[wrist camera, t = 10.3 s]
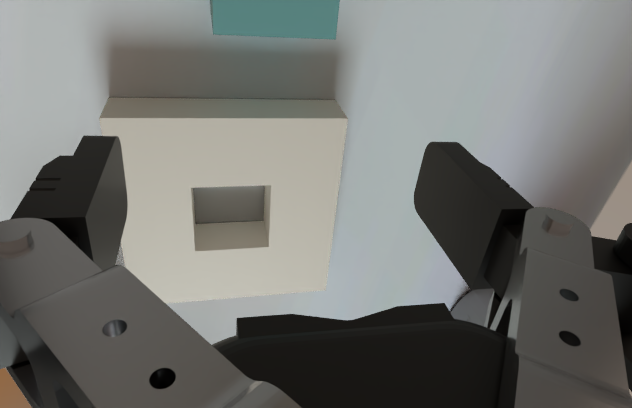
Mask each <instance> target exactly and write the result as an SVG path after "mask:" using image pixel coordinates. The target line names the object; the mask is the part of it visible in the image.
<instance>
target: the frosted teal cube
mask: <svg viewBox="0 0 632 408" xmlns="http://www.w3.org/2000/svg"><path fill="white" fill-rule="evenodd" d="M339 2H340V0H210V4H211V19H212V27H213V34H217V35H241V36H265V37H290V38H314V39H336V30H337V21H338V11H339Z"/></svg>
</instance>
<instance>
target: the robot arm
mask: <svg viewBox="0 0 632 408" xmlns="http://www.w3.org/2000/svg"><path fill="white" fill-rule="evenodd" d="M29 189H30V191H28V192H27V193H26V195H25V196H24V198H23V200H22V201H21V203H20V204H19V206H18V208H17V209H16V211H15V212H14V214H13V216H12V217H11V219H10V220H5V221H1V222H0V369H1V368H5V367H6V369H7V371H8V372H9V374H10V375H11V377H12V378H13V380H14V381H15V383H16V384H17V386H18V387H19V389H20V390H21V392H22V393H23V395H24V396H25V398H26V399H27V401H28V402H29V404H30V405H31V407H32V408H632V396H631V395H630V393H629V389H630V390H631V391H632V223H629V224H627V225H625V227H624V228H623V230H622V232H621V234H620V235H619V237H618V239H617V241H616V240H610V239H604V238H598V237H592V236H591V232H590V230H589V228H588V227H587V226H586V225H585V224H584V223H583V222H582V221H580V220H579V219H577V218H576V217H574V216H572V215H570V214H568V213H565V212H563V211H560V210H556V209H552V208H546V207H535V208H534V207H533V206H532V205H531V204H530V203H529V202H527V201H526V200H525V199H524V198H523V197H522V196H521V195H520V194H519V193H518V192H516V191H515V190H514V189H513V188H510V185H509V184H508V183H506V182H505V181H504V180H503V179H501V177H500V176H499V175H498V174H496V173H495V172H494V171H493V170H492V169H491V168H490V167H488V166H486V165H484V164H482V163H480V162H479V161H478V160H477V159H476V158H475V157H474V156H472V155H471V154H470V153H469V152H468V151H467V150H466V149H465V148H464V147H463V146H462V145H460V144H459V143H457V142H430V143H429V144H428V145H427V147H426V149H425V152H424V156H423V160H422V164H421V168H420V172H419V176H418V180H417V184H416V188H415V192H414V205H415V209H416V211H417V213H418V215H419V216H420V218H421V219H422V220H423V222H424V223H425V225H426V226H427V228H428V229H429V230H430V232H431V233H432V235H433V236H434V238H435V239H436V240H437V242H438V243H439V245H440V246H441V247H442V249H443V250H444V252H445V253H446V255H447V256H448V257H449V259H450V260H451V262H452V263H453V265H454V266H455V267H456V269H457V270H458V272H459V273H460V275H461V276H462V277H463V279H464V280H465V282H466V283H467V285H468V286H469V287H470V289H471V290H472V291H470V292H469V293H468V294H467V295H465V296H464V297H463V298H462V299H461V300H460V301H459V302H458V303H457V304H456V306H455V307H454V308H453V310H452V311H451V313H450V312H449V310H448V308H447V307H446V305H445V303H439V304H425V305H411V306H397V307H394V308H391V309H388V310H384V311H381V312H378V313H375V314H371V315H368V316H365V317H362V318H358V319H355V320H348V321H347V320H337V319H329V318H320V317H312V316H304V315H296V314H286V315H272V316H258V317H244V318H237V332H236V336H233V337H230V338H227V339H224V340H222V341H220V342H217V343H215V344H213V345H211V344H210V343H209V342H208V341H206V340H205V339H204V338H203V337H202V336H201V335H200V334H199V333H198V332H197V331H195V330H194V329H193V328H192V327H191V326H190V325H189V324H188V323H187V322H185V321H184V320H183V319H182V318H181V317H180V316H179V315H178V314H177V313H175V312H174V311H173V310H172V309H171V308H170V307H169V306H168V305H167V304H166V303H164V302H163V301H162V300H161V299H160V298H159V297H158V296H157V295H156V294H154V293H153V292H152V291H151V290H150V289H149V288H148V287H147V286H146V285H144V284H143V283H142V282H141V281H140V280H139V279H138V278H137V277H136V276H135V275H133V274H132V273H131V272H130V271H129V270H128V269H127V268H125V267H124V266H122V265H115V263H116V259H117V255H118V251H119V247H120V242H121V238H122V234H123V230H124V226H125V222H126V218H127V207H128V202H127V189H126V181H125V173H124V165H123V157H122V149H121V143H120V139H119V137H118V136H83V138H82V140H81V142H80V143H79V145H78V147H77V149H76V151H75V153H74V155H73V156H59V157H57V158H55V159H54V160H52V161H51V162H49V163H48V164H46V165H44V166H43V167H42V169H41V171H40V172H39V174H38V175H37V177H36V181H34V182H33V183H32V185H31V187H30V188H29Z"/></svg>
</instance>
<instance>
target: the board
mask: <svg viewBox="0 0 632 408" xmlns="http://www.w3.org/2000/svg"><path fill="white" fill-rule="evenodd" d="M99 119H100V125H101V131H102V136H118V137H119V139H120V143H121V149H122V157H123V165H124V173H125V181H126V189H127V202H128V207H127V218H126V222H125V226H124V230H123V234H122V238H121V246H122V252H123V258H124V263H125V268H127V269H128V270H129V271H130V272H131V273H132V274H133V275H135V276H136V277H137V278H138V279H139V280H140V281H141V282H142V283H143V284H144V285H146V286H147V287H148V288H149V289H150V290H151V291H152V292H153V293H154V294H156V295H157V296H158V297H159V298H160V299H161V300H162V301H163V302H164V303H166V304H167V303H179V302H191V301H203V300H215V299H227V298H239V297H251V296H263V295H275V294H287V293H299V292H311V291H323V290H326V284H327V276H328V268H329V261H330V253H331V245H332V237H333V230H334V222H335V214H336V207H337V199H338V191H339V184H340V176H341V168H342V161H343V153H344V145H345V137H346V130H347V122H348V118H347V116H346V115H345V114H344V112H343V111H342V109H341V108H340V106H339V105H338V103H337V102H336V101H335V100H294V99H202V98H111V97H109V98H108V101H107V103H106V105H105V107H104V109H103V111H102V113H101V115H100V118H99ZM264 185H265V188H264V221H248V222H227V223H206V224H195V208H194V193H193V188H198V187H231V186H264Z"/></svg>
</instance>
